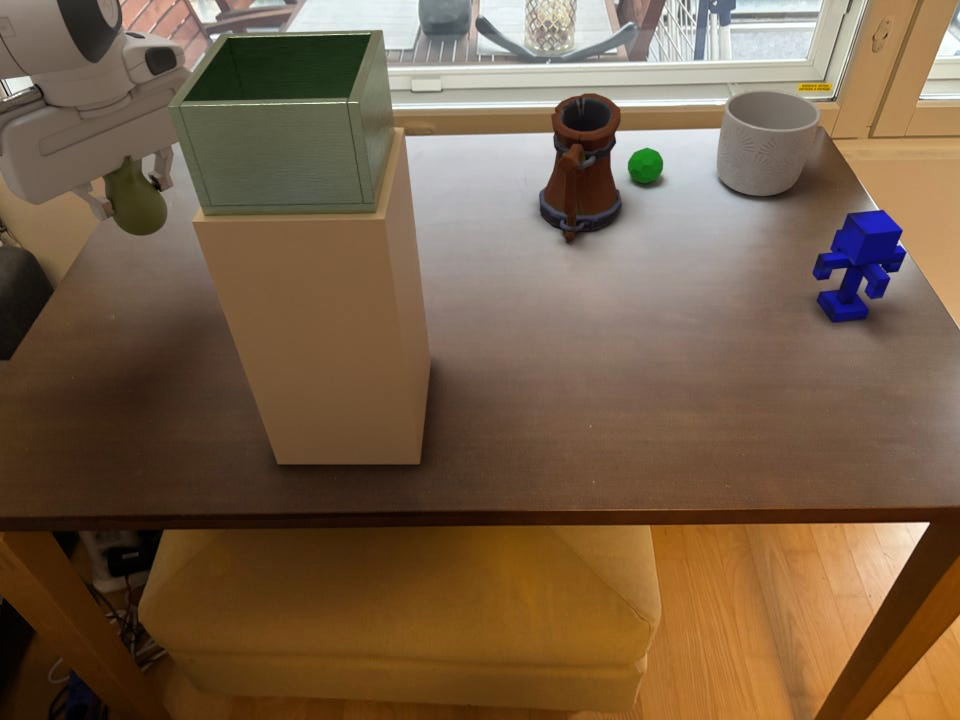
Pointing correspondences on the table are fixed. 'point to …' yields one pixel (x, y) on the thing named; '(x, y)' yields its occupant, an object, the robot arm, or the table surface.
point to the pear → (135, 199)
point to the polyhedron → (645, 165)
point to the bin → (312, 239)
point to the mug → (582, 165)
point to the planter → (765, 140)
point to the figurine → (859, 263)
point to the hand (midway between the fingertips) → (135, 201)
